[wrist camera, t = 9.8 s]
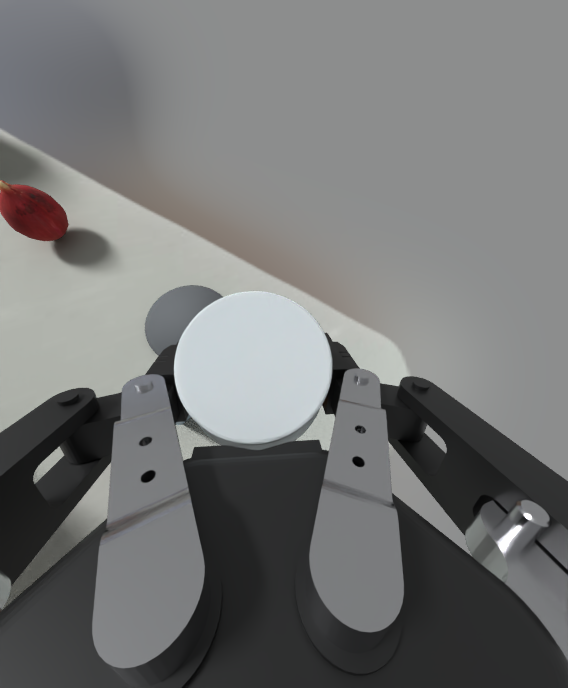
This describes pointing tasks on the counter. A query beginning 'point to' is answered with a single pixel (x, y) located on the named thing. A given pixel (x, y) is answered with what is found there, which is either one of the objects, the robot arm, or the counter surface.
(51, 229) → the onion
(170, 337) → the mat
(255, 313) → the pill bottle
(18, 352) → the counter surface
